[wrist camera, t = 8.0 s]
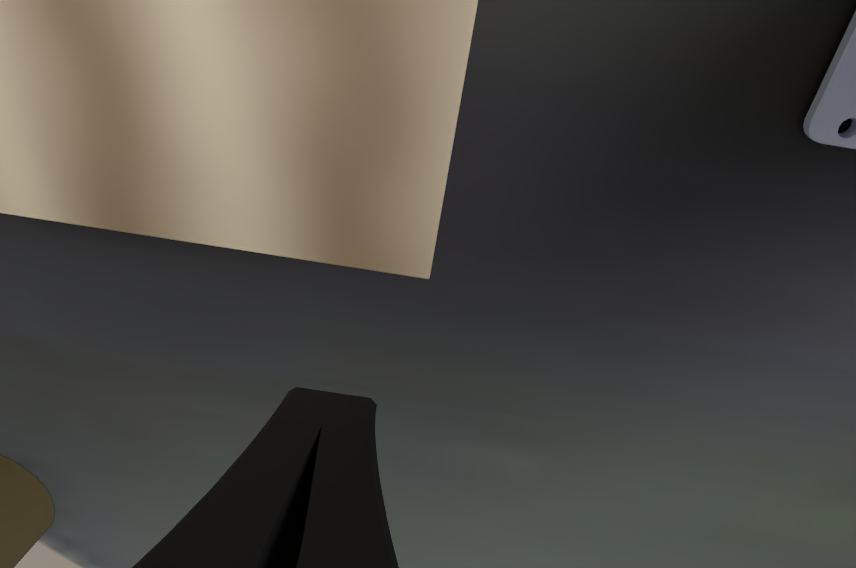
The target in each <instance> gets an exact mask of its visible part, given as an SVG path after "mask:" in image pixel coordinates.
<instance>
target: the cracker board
mask: <svg viewBox="0 0 856 568" xmlns="http://www.w3.org/2000/svg"><path fill="white" fill-rule="evenodd" d="M477 4H478V0H0V213H4V214H11V215H17V216H24V217H30V218H37V219H43V220H50V221H56V222H63V223H69V224H76V225H82V226H89V227H95V228H101V229H108V230H114V231H121V232H127V233H134V234H140V235H147V236H153V237H160V238H166V239H173V240H179V241H186V242H192V243H199V244H205V245H212V246H218V247H225V248H231V249H237V250H244V251H250V252H257V253H263V254H270V255H276V256H283V257H289V258H296V259H302V260H309V261H315V262H322V263H328V264H335V265H341V266H348V267H354V268H361V269H367V270H373V271H380V272H386V273H393V274H399V275H406V276H412V277H419V278H425V279H429V278H430V273H431V267H432V261H433V255H434V250H435V244H436V238H437V233H438V227H439V221H440V215H441V210H442V204H443V198H444V193H445V187H446V181H447V175H448V170H449V164H450V158H451V153H452V147H453V141H454V135H455V130H456V124H457V118H458V112H459V107H460V101H461V95H462V90H463V84H464V78H465V72H466V67H467V61H468V55H469V50H470V44H471V38H472V32H473V27H474V21H475V15H476V10H477Z"/></svg>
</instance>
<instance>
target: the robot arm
mask: <svg viewBox="0 0 856 568" xmlns="http://www.w3.org/2000/svg"><path fill="white" fill-rule="evenodd" d="M850 118H851V119H852V123H851V126H850V127H849V128H848V130H847V131H845V132H843V133H840V134H838V129H839V126H840V125H841V124H842V122H843V121H845V120H847V119H850ZM803 128H804V133H805V134H806V135H807V136H808V137H809V138H810V139H812V140H813V141H815V142H818V143H821V144H827V145H833V146H839V147H845V148H851V149H856V11H855V13H854V15H853V17H852V19H851V21H850V24H849V26H848V28H847V30H846V32H845V34H844V36H843V38H842V41H841V43H840V45H839V47H838V49H837V51H836V53H835V55H834V58H833V60H832V62H831V64H830V66H829V68H828V70H827V73H826V75H825V77H824V79H823V81H822V83H821V85H820V87H819V90H818V92H817V94H816V96H815V98H814V100H813V102H812V105H811V107H810V109H809V111H808V113H807V115H806V117H805V120H804V124H803ZM376 406H377V405H376V403H375V402H374V401H373V400H372V399H371V398H366V397H359V396H352V395H345V394H339V393H332V392H325V391H318V390H312V389H305V388H298V387H296V388H294V389H292V390H291V391H289V392H288V394H287V395H286V397H285V398H284V400H283V401H282V403H281V404H280V406H279V407H278V408H277V410H276V411H275V412H274V414H273V415H272V417H271V418H270V419H269V421H268V422H267V423H266V425H265V426H264V427H263V428H262V430H261V431H260V432H259V433H258V435H257V436H256V437H255V438H254V440H253V441H252V442H251V443H250V445H249V446H248V447H247V448H246V450H245V451H244V452H243V453H242V454H241V455H240V457H239V458H238V459H237V460H236V461H235V462H234V463H233V465H232V466H231V467H230V468H229V469H228V470H227V472H226V473H225V474H224V475H223V476H222V477H221V478H220V480H219V481H218V482H217V483H216V484H215V485H214V486H213V487H212V489H211V490H210V491H209V492H208V493H207V494H206V495H205V496H204V497H203V498H202V499H201V500H200V501H199V502H198V503H197V504H196V505H195V506H194V507H193V508H192V509H191V510H190V511H189V513H188V514H187V515H186V516H185V517H184V518H183V519H182V520H181V521H180V522H179V523H178V524H177V525H176V526H175V527H174V528H173V529H172V530H171V531H170V532H169V533H168V534H167V535H166V536H165V537H164V538H163V539H162V540H161V541H160V542H159V543H158V544H157V545H156V546H155V547H154V548H153V549H152V550H151V551H149V552H148V553H147V554H146V555H145V556H144V557H143V558H142V559H141V560H140V561H139V562H138V563H137V564H136V565H134V566H133V567H132V568H399V567H398V563H397V559H396V555H395V551H394V547H393V543H392V539H391V535H390V530H389V526H388V521H387V517H386V511H385V506H384V500H383V495H382V490H381V484H380V478H379V471H378V463H377V453H376V441H375V413H376Z"/></svg>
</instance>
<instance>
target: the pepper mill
mask: <svg viewBox="0 0 856 568" xmlns="http://www.w3.org/2000/svg"><path fill="white" fill-rule="evenodd" d="M54 512H55V508H54V505H53V502H52V499H51V497H50V494H49V492H48V491H47V490H46V489H45V487H44V486H43V485H42V484H41V482H40V481H39V480H38V479H37V478H36V477H35V476H34V475H32V474H31V473H30V472H29V471H27V470H26V469H25V468H23V467H22V466H21V465H19V464H18V463H16V462H14V461H12V460H10V459H8V458H6V457H4V456H2V455H0V568H14V567H15V566H16V564H17V563H18V562H19V561H20V560H21V559H22V558H23V557H24V555H25V554H26V553H27V552H28V551H29V550H30V549H31V547H32V546H33V545H34V544H35V543H36V542H37V541H38V540H39V538H40V537H41V536H42V535H43V534H44V533H45V532H46V530H47V529H48V528H49V527H50V525H51V524H52V523H53V520H54Z"/></svg>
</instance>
